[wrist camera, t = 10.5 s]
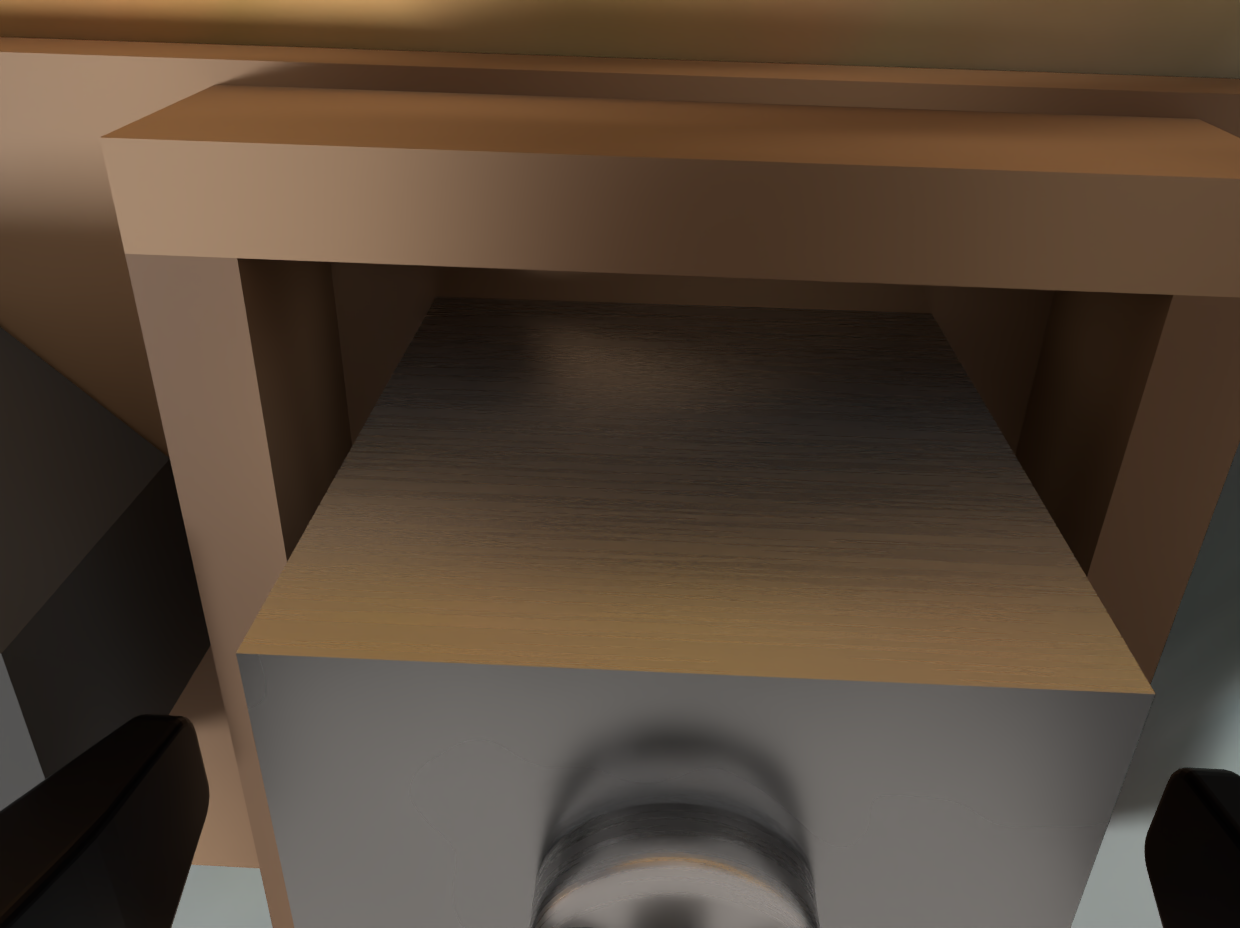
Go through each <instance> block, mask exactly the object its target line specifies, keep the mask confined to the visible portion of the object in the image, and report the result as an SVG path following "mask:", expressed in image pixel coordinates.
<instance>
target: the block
mask: <svg viewBox="0 0 1240 928" xmlns="http://www.w3.org/2000/svg"><path fill="white" fill-rule="evenodd" d="M236 656H237V661H238V665H239V670H240V675H241V680H242V684H243V689H244V694H245V698H246V703H247V708H248V712H249V717H250V722H251V726H252V731H253V736H254V741H255V745H256V750H257V755H258V759H259V764H260V769H261V773H262V778H263V783H264V787H265V792H266V797H267V802H268V806H269V811H270V816H271V820H272V825H273V830H274V834H275V839H276V844H277V848H278V853H279V858H280V862H281V867H282V872H283V877H284V881H285V886H286V891H287V895H288V900H289V905H290V909H291V914H292V919H293V923H294V928H1071V925H1072V922H1073V919H1074V917H1075V914H1076V911H1077V908H1078V906H1079V903H1080V900H1081V897H1082V895H1083V892H1084V889H1085V886H1086V884H1087V881H1088V878H1089V875H1090V873H1091V870H1092V867H1093V865H1094V862H1095V859H1096V856H1097V854H1098V851H1099V848H1100V845H1101V843H1102V840H1103V837H1104V834H1105V832H1106V829H1107V826H1108V823H1109V821H1110V818H1111V815H1112V812H1113V810H1114V807H1115V804H1116V801H1117V799H1118V796H1119V793H1120V790H1121V788H1122V785H1123V782H1124V779H1125V777H1126V774H1127V771H1128V769H1129V766H1130V763H1131V760H1132V758H1133V755H1134V752H1135V749H1136V747H1137V744H1138V741H1139V738H1140V736H1141V733H1142V730H1143V727H1144V725H1145V722H1146V719H1147V716H1148V714H1149V711H1150V708H1151V705H1152V703H1153V700H1154V697H1155V692H1154V691H1153V689H1152V687H1151V686H1150V684H1149V682H1148V680H1147V679H1146V677H1145V675H1144V674H1143V672H1142V670H1141V669H1140V667H1139V665H1138V663H1137V662H1136V660H1135V658H1134V657H1133V655H1132V653H1131V652H1130V650H1129V648H1128V646H1127V645H1126V643H1125V641H1124V640H1123V638H1122V636H1121V635H1120V633H1119V631H1118V629H1117V628H1116V626H1115V624H1114V623H1113V621H1112V619H1111V618H1110V616H1109V614H1108V612H1107V611H1106V609H1105V607H1104V606H1103V604H1102V602H1101V601H1100V599H1099V597H1098V595H1097V594H1096V592H1095V590H1094V589H1093V587H1092V585H1091V584H1090V582H1089V580H1088V579H1087V577H1086V575H1085V573H1084V572H1083V570H1082V568H1081V567H1080V565H1079V563H1078V562H1077V560H1076V558H1075V556H1074V555H1073V553H1072V551H1071V550H1070V548H1069V546H1068V545H1067V543H1066V541H1065V539H1064V538H1063V536H1062V534H1061V533H1060V531H1059V529H1058V528H1057V526H1056V524H1055V522H1054V521H1053V519H1052V517H1051V516H1050V514H1049V512H1048V511H1047V509H1046V507H1045V505H1044V504H1043V502H1042V500H1041V499H1040V497H1039V495H1038V494H1037V492H1036V490H1035V488H1034V487H1033V485H1032V483H1031V482H1030V480H1029V478H1028V477H1027V475H1026V473H1025V471H1024V470H1023V468H1022V466H1021V465H1020V463H1019V461H1018V460H1017V458H1016V456H1015V455H1014V453H1013V451H1012V449H1011V448H1010V446H1009V444H1008V443H1007V441H1006V439H1005V438H1004V436H1003V434H1002V432H1001V431H1000V429H999V427H998V426H997V424H996V422H995V421H994V419H993V417H992V415H991V414H990V412H989V410H988V409H987V407H986V405H985V404H984V402H983V400H982V398H981V397H980V395H979V393H978V392H977V390H976V388H975V387H974V385H973V383H972V381H971V380H970V378H969V376H968V375H967V373H966V371H965V370H964V368H963V366H962V364H961V363H960V361H959V359H958V358H957V356H956V354H955V353H954V351H953V349H952V347H951V346H950V344H949V342H948V341H947V339H946V337H945V336H944V334H943V332H942V330H941V329H940V327H939V325H938V324H937V322H936V320H935V319H934V317H933V315H932V314H931V313H910V312H881V311H851V310H822V309H792V308H763V307H734V306H704V305H675V304H645V303H616V302H587V301H557V300H528V299H498V298H469V297H440V296H436V298H435V300H434V302H433V303H432V305H431V307H430V309H429V311H428V312H427V314H426V316H425V318H424V319H423V321H422V323H421V325H420V327H419V328H418V330H417V332H416V334H415V335H414V337H413V339H412V341H411V343H410V344H409V346H408V348H407V350H406V351H405V353H404V355H403V357H402V359H401V360H400V362H399V364H398V366H397V367H396V369H395V371H394V373H393V375H392V376H391V378H390V380H389V382H388V383H387V385H386V387H385V389H384V391H383V392H382V394H381V396H380V398H379V399H378V401H377V403H376V405H375V407H374V408H373V410H372V412H371V414H370V416H369V417H368V419H367V421H366V423H365V424H364V426H363V428H362V430H361V432H360V433H359V435H358V437H357V439H356V440H355V442H354V444H353V446H352V448H351V449H350V451H349V453H348V455H347V456H346V458H345V460H344V462H343V464H342V465H341V467H340V469H339V471H338V472H337V474H336V476H335V478H334V480H333V481H332V483H331V485H330V487H329V488H328V490H327V492H326V494H325V496H324V497H323V499H322V501H321V503H320V504H319V506H318V508H317V510H316V512H315V513H314V515H313V517H312V519H311V520H310V522H309V524H308V526H307V528H306V529H305V531H304V533H303V535H302V536H301V538H300V540H299V542H298V544H297V545H296V547H295V549H294V551H293V552H292V554H291V556H290V558H289V560H288V561H287V563H286V565H285V567H284V568H283V570H282V572H281V574H280V576H279V577H278V579H277V581H276V583H275V585H274V586H273V588H272V590H271V592H270V593H269V595H268V597H267V599H266V601H265V602H264V604H263V606H262V608H261V609H260V611H259V613H258V615H257V617H256V618H255V620H254V622H253V624H252V625H251V627H250V629H249V631H248V633H247V634H246V636H245V638H244V640H243V641H242V643H241V645H240V647H239V649H238V650H237V652H236Z"/></svg>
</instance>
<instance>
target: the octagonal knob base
mask: <svg viewBox="0 0 1240 928" xmlns="http://www.w3.org/2000/svg"><path fill="white" fill-rule="evenodd" d="M210 645H211V644H210V639H209V634H208V630H207V625H206V621H205V616H204V612H203V607H202V603H201V598H200V593H199V589H198V584H197V580H196V575H195V571H194V566H193V562H192V557H191V552H190V548H189V543H188V539H187V534H186V530H185V525H184V521H183V516H182V511H181V507H180V502H179V498H178V493H177V489H176V484H175V480H174V475H173V471H172V466H171V461H170V458H169V457H168V456H166V455H165V454H164V453H162V452H161V451H160V450H158V449H157V448H156V447H155V446H153V445H152V444H151V443H149V442H148V441H147V440H146V439H144V438H143V437H142V436H140V435H139V434H138V433H137V432H135V431H134V430H133V429H131V428H130V427H129V426H128V425H126V424H125V423H124V422H122V421H121V420H120V419H119V418H117V417H116V416H115V415H113V414H112V413H111V412H110V411H108V410H107V409H106V408H104V407H103V406H102V405H101V404H99V403H98V402H97V401H95V400H94V399H93V398H91V397H90V396H89V395H88V394H86V393H85V392H84V391H82V390H81V389H80V388H79V387H77V386H76V385H75V384H73V383H72V382H71V381H70V380H68V379H67V378H66V377H64V376H63V375H62V374H61V373H59V372H58V371H57V370H55V369H54V368H53V367H52V366H50V365H49V364H48V363H46V362H45V361H44V360H43V359H41V358H40V357H39V356H37V355H36V354H35V353H33V352H32V351H31V350H30V349H28V348H27V347H26V346H24V345H23V344H22V343H21V342H19V341H18V340H17V339H15V338H14V337H13V336H12V335H10V334H9V333H8V332H6V331H5V330H4V329H3V328H1V327H0V811H1V810H2V809H4V808H5V807H7V806H8V805H9V804H11V803H12V802H14V801H15V800H16V799H18V798H19V797H21V796H22V795H24V794H25V793H26V792H28V791H29V790H31V789H32V788H34V787H35V786H36V785H38V784H39V783H41V782H42V781H43V780H45V779H46V778H48V777H49V776H51V775H52V774H53V773H55V772H56V771H58V770H59V769H60V768H62V767H63V766H65V765H66V764H68V763H69V762H70V761H72V760H73V759H75V758H76V757H78V756H79V755H80V754H82V753H83V752H85V751H86V750H87V749H89V748H90V747H92V746H93V745H95V744H96V743H97V742H99V741H100V740H102V739H103V738H105V737H106V736H107V735H109V734H110V733H112V732H113V731H114V730H116V729H117V728H119V727H120V726H122V725H123V724H124V723H126V722H127V721H129V720H130V719H132V718H134V717H136V716H139V715H144V714H153V715H169V714H170V712H171V710H172V709H173V707H174V705H175V704H176V702H177V700H178V699H179V697H180V695H181V694H182V692H183V690H184V689H185V687H186V685H187V684H188V682H189V680H190V679H191V677H192V675H193V674H194V672H195V670H196V669H197V667H198V665H199V664H200V662H201V660H202V659H203V657H204V655H205V654H206V652H207V650H208V649H209V647H210Z"/></svg>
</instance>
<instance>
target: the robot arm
mask: <svg viewBox="0 0 1240 928" xmlns="http://www.w3.org/2000/svg"><path fill="white" fill-rule="evenodd" d="M209 798H210V793H209V783H208V779H207V775H206V771H205V767H204V763H203V758H202V754H201V750H200V746H199V742H198V738H197V734H196V730H195V727H194V725H193V723H192V722H191V721H190V720H189V719H188V718H186V717H183V716H174V715H153V714H144V715H139V716H136V717H134V718H132V719H130V720H129V721H127V722H126V723H124V724H123V725H122V726H120V727H119V728H117V729H116V730H114V731H113V732H112V733H110V734H109V735H107V736H106V737H105V738H103V739H102V740H100V741H99V742H97V743H96V744H95V745H93V746H92V747H90V748H89V749H87V750H86V751H85V752H83V753H82V754H80V755H79V756H78V757H76V758H75V759H73V760H72V761H70V762H69V763H68V764H66V765H65V766H63V767H62V768H60V769H59V770H58V771H56V772H55V773H53V774H52V775H51V776H49V777H48V778H46V779H45V780H43V781H42V782H41V783H39V784H38V785H36V786H35V787H34V788H32V789H31V790H29V791H28V792H26V793H25V794H24V795H22V796H21V797H19V798H18V799H16V800H15V801H14V802H12V803H11V804H9V805H8V806H7V807H5V808H4V809H2V810H1V811H0V928H171V927H172V924H173V921H174V918H175V914H176V911H177V908H178V905H179V902H180V899H181V896H182V892H183V889H184V886H185V883H186V880H187V877H188V873H189V870H190V867H191V864H192V861H193V858H194V854H195V851H196V848H197V845H198V842H199V839H200V836H201V832H202V829H203V826H204V823H205V820H206V816H207V812H208V807H209ZM1145 861H1146V867H1147V871H1148V875H1149V878H1150V882H1151V886H1152V889H1153V893H1154V897H1155V900H1156V904H1157V908H1158V911H1159V915H1160V918H1161V922H1162V926H1163V928H1240V776H1239V775H1237V774H1236V773H1234V772H1232V771H1228V770H1224V769H1206V768H1181V769H1178V770H1177V771H1175V772H1174V773H1173V774H1172V775H1171V777H1170V779H1169V780H1168V783H1167V785H1166V788H1165V790H1164V793H1163V795H1162V798H1161V800H1160V803H1159V805H1158V808H1157V810H1156V813H1155V815H1154V817H1153V820H1152V822H1151V825H1150V827H1149V830H1148V832H1147V836H1146V840H1145Z"/></svg>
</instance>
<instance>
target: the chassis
mask: <svg viewBox="0 0 1240 928" xmlns="http://www.w3.org/2000/svg"><path fill="white" fill-rule="evenodd" d="M436 296H440V297H469V298H498V299H528V300H557V301H587V302H616V303H645V304H675V305H704V306H734V307H763V308H792V309H822V310H851V311H881V312H910V313H931V314H932V315H933V317H934V319H935V320H936V322H937V324H938V325H939V327H940V329H941V330H942V332H943V334H944V336H945V337H946V339H947V341H948V342H949V344H950V346H951V347H952V349H953V351H954V353H955V354H956V356H957V358H958V359H959V361H960V363H961V364H962V366H963V368H964V370H965V371H966V373H967V375H968V376H969V378H970V380H971V381H972V383H973V385H974V387H975V388H976V390H977V392H978V393H979V395H980V397H981V398H982V400H983V402H984V404H985V405H986V407H987V409H988V410H989V412H990V414H991V415H992V417H993V419H994V421H995V422H996V424H997V426H998V427H999V429H1000V431H1001V432H1002V434H1003V436H1004V438H1005V439H1006V441H1007V443H1008V444H1009V446H1010V448H1011V449H1012V451H1013V453H1014V455H1015V456H1016V458H1017V460H1018V461H1019V463H1020V465H1021V466H1022V468H1023V470H1024V471H1025V473H1026V475H1027V477H1028V478H1029V480H1030V482H1031V483H1032V485H1033V487H1034V488H1035V490H1036V492H1037V494H1038V495H1039V497H1040V499H1041V500H1042V502H1043V504H1044V505H1045V507H1046V509H1047V511H1048V512H1049V514H1050V516H1051V517H1052V519H1053V521H1054V522H1055V524H1056V526H1057V528H1058V529H1059V531H1060V533H1061V534H1062V536H1063V538H1064V539H1065V541H1066V543H1067V545H1068V546H1069V548H1070V550H1071V551H1072V553H1073V555H1074V556H1075V558H1076V560H1077V562H1078V563H1079V565H1080V567H1081V568H1082V570H1083V572H1084V573H1085V575H1086V577H1087V579H1088V580H1089V582H1090V584H1091V585H1092V587H1093V589H1094V590H1095V592H1096V594H1097V595H1098V597H1099V599H1100V601H1101V602H1102V604H1103V606H1104V607H1105V609H1106V611H1107V612H1108V614H1109V616H1110V618H1111V619H1112V621H1113V623H1114V624H1115V626H1116V628H1117V629H1118V631H1119V633H1120V635H1121V636H1122V638H1123V640H1124V641H1125V643H1126V645H1127V646H1128V648H1129V650H1130V652H1131V653H1132V655H1133V657H1134V658H1135V660H1136V662H1137V663H1138V665H1139V667H1140V669H1141V670H1142V672H1143V674H1144V675H1145V677H1146V679H1147V680H1148V682H1149V684H1151V681H1152V679H1153V676H1154V673H1155V670H1156V668H1157V665H1158V662H1159V660H1160V657H1161V654H1162V651H1163V649H1164V646H1165V643H1166V641H1167V638H1168V635H1169V632H1170V630H1171V627H1172V624H1173V621H1174V619H1175V616H1176V613H1177V611H1178V608H1179V605H1180V602H1181V600H1182V597H1183V594H1184V592H1185V589H1186V586H1187V583H1188V581H1189V578H1190V575H1191V573H1192V570H1193V567H1194V564H1195V562H1196V559H1197V556H1198V553H1199V551H1200V548H1201V545H1202V543H1203V540H1204V537H1205V534H1206V532H1207V529H1208V526H1209V524H1210V521H1211V518H1212V515H1213V513H1214V510H1215V507H1216V505H1217V502H1218V499H1219V496H1220V494H1221V491H1222V488H1223V485H1224V483H1225V480H1226V477H1227V475H1228V472H1229V469H1230V466H1231V464H1232V461H1233V458H1234V456H1235V453H1236V450H1237V447H1238V445H1239V442H1240V79H1230V78H1200V77H1171V76H1141V75H1112V74H1082V73H1052V72H1023V71H993V70H963V69H934V68H904V67H874V66H845V65H815V64H785V63H756V62H726V61H696V60H667V59H637V58H607V57H578V56H548V55H518V54H489V53H459V52H429V51H400V50H370V49H340V48H311V47H281V46H251V45H222V44H192V43H162V42H133V41H103V40H73V39H44V38H14V37H0V327H1V328H3V329H4V330H5V331H6V332H8V333H9V334H10V335H12V336H13V337H14V338H15V339H17V340H18V341H19V342H21V343H22V344H23V345H24V346H26V347H27V348H28V349H30V350H31V351H32V352H33V353H35V354H36V355H37V356H39V357H40V358H41V359H43V360H44V361H45V362H46V363H48V364H49V365H50V366H52V367H53V368H54V369H55V370H57V371H58V372H59V373H61V374H62V375H63V376H64V377H66V378H67V379H68V380H70V381H71V382H72V383H73V384H75V385H76V386H77V387H79V388H80V389H81V390H82V391H84V392H85V393H86V394H88V395H89V396H90V397H91V398H93V399H94V400H95V401H97V402H98V403H99V404H101V405H102V406H103V407H104V408H106V409H107V410H108V411H110V412H111V413H112V414H113V415H115V416H116V417H117V418H119V419H120V420H121V421H122V422H124V423H125V424H126V425H128V426H129V427H130V428H131V429H133V430H134V431H135V432H137V433H138V434H139V435H140V436H142V437H143V438H144V439H146V440H147V441H148V442H149V443H151V444H152V445H153V446H155V447H156V448H157V449H158V450H160V451H161V452H162V453H164V454H165V455H166V456H168V457H169V458H170V461H171V466H172V471H173V475H174V480H175V484H176V489H177V493H178V498H179V502H180V507H181V511H182V516H183V521H184V525H185V530H186V534H187V539H188V543H189V548H190V552H191V557H192V562H193V566H194V571H195V575H196V580H197V584H198V589H199V593H200V598H201V603H202V607H203V612H204V616H205V621H206V625H207V630H208V634H209V639H210V644H211V645H210V647H209V649H208V650H207V652H206V654H205V655H204V657H203V659H202V660H201V662H200V664H199V665H198V667H197V669H196V670H195V672H194V674H193V675H192V677H191V679H190V680H189V682H188V684H187V685H186V687H185V689H184V690H183V692H182V694H181V695H180V697H179V699H178V700H177V702H176V704H175V705H174V707H173V709H172V710H171V712H170V714H169V715H174V716H183V717H186V718H188V719H189V720H190V721H191V722H192V723H193V725H194V727H195V730H196V734H197V738H198V742H199V746H200V750H201V754H202V758H203V763H204V767H205V771H206V775H207V779H208V783H209V793H210V798H209V807H208V812H207V816H206V820H205V823H204V826H203V829H202V832H201V836H200V839H199V842H198V845H197V848H196V851H195V854H194V858H193V861H192V865H210V866H228V867H246V868H260V871H261V876H262V880H263V885H264V889H265V894H266V898H267V903H268V908H269V912H270V917H271V921H272V926H273V928H294V923H293V919H292V914H291V909H290V905H289V900H288V895H287V891H286V886H285V881H284V877H283V872H282V867H281V862H280V858H279V853H278V848H277V844H276V839H275V834H274V830H273V825H272V820H271V816H270V811H269V806H268V802H267V797H266V792H265V787H264V783H263V778H262V773H261V769H260V764H259V759H258V755H257V750H256V745H255V741H254V736H253V731H252V726H251V722H250V717H249V712H248V708H247V703H246V698H245V694H244V689H243V684H242V680H241V675H240V670H239V665H238V661H237V656H236V652H237V650H238V649H239V647H240V645H241V643H242V641H243V640H244V638H245V636H246V634H247V633H248V631H249V629H250V627H251V625H252V624H253V622H254V620H255V618H256V617H257V615H258V613H259V611H260V609H261V608H262V606H263V604H264V602H265V601H266V599H267V597H268V595H269V593H270V592H271V590H272V588H273V586H274V585H275V583H276V581H277V579H278V577H279V576H280V574H281V572H282V570H283V568H284V567H285V565H286V563H287V561H288V560H289V558H290V556H291V554H292V552H293V551H294V549H295V547H296V545H297V544H298V542H299V540H300V538H301V536H302V535H303V533H304V531H305V529H306V528H307V526H308V524H309V522H310V520H311V519H312V517H313V515H314V513H315V512H316V510H317V508H318V506H319V504H320V503H321V501H322V499H323V497H324V496H325V494H326V492H327V490H328V488H329V487H330V485H331V483H332V481H333V480H334V478H335V476H336V474H337V472H338V471H339V469H340V467H341V465H342V464H343V462H344V460H345V458H346V456H347V455H348V453H349V451H350V449H351V448H352V446H353V444H354V442H355V440H356V439H357V437H358V435H359V433H360V432H361V430H362V428H363V426H364V424H365V423H366V421H367V419H368V417H369V416H370V414H371V412H372V410H373V408H374V407H375V405H376V403H377V401H378V399H379V398H380V396H381V394H382V392H383V391H384V389H385V387H386V385H387V383H388V382H389V380H390V378H391V376H392V375H393V373H394V371H395V369H396V367H397V366H398V364H399V362H400V360H401V359H402V357H403V355H404V353H405V351H406V350H407V348H408V346H409V344H410V343H411V341H412V339H413V337H414V335H415V334H416V332H417V330H418V328H419V327H420V325H421V323H422V321H423V319H424V318H425V316H426V314H427V312H428V311H429V309H430V307H431V305H432V303H433V302H434V300H435V298H436Z"/></svg>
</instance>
